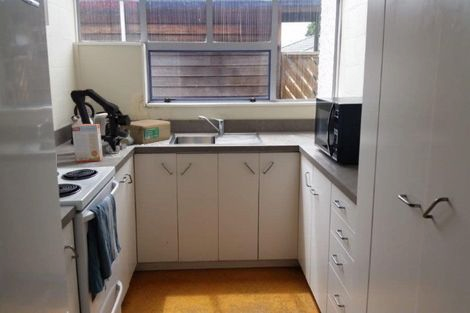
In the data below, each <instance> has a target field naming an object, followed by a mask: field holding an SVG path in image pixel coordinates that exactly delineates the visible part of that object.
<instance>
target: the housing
mask: <svg viewBox="0 0 470 313" xmlns="http://www.w3.org/2000/svg"><path fill="white" fill-rule="evenodd" d="M101 144H102V155H107V154H109V153H110V152H106V146H110V145H109V143H108V142H104V143H103V142H101Z"/></svg>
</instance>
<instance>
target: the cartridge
mask: <svg viewBox="0 0 470 313" xmlns="http://www.w3.org/2000/svg"><path fill="white" fill-rule="evenodd" d="M120 151H121V150H120V147H119V146H116V151H115V152H114V151H113V150H112V148H111V146H106V152H109V153H120Z"/></svg>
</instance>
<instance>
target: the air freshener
mask: <svg viewBox="0 0 470 313" xmlns="http://www.w3.org/2000/svg"><path fill="white" fill-rule="evenodd" d="M121 138H123V137H121ZM133 142H134V139H133V138H132V137H130V134H128V137H126V138H123V139H122V140H121V142H120V143H121V144H126V147H127V145H128V146H131V145H132V144H134V143H133Z"/></svg>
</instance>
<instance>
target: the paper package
mask: <svg viewBox="0 0 470 313" xmlns="http://www.w3.org/2000/svg"><path fill="white" fill-rule="evenodd" d="M125 129H128V130H129V134H130V137H132V138H133V139H134V142H133V143H132V144H134V143H135V145H141V144H144V145H149V144H153V143H158V142H162V141H168V140H170V139H171V121H167V120H162V119H151V118H150V119H149V118H148V119H141V120H135V121H134V120H133V121H131V124H130V126H121V130H125ZM148 143H149V144H148Z"/></svg>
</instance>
